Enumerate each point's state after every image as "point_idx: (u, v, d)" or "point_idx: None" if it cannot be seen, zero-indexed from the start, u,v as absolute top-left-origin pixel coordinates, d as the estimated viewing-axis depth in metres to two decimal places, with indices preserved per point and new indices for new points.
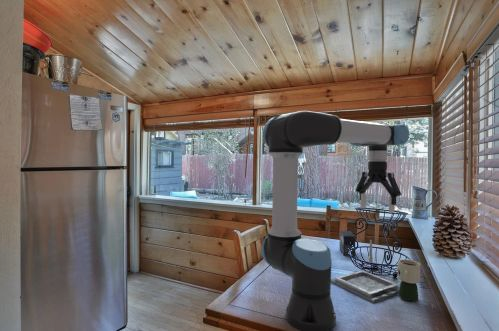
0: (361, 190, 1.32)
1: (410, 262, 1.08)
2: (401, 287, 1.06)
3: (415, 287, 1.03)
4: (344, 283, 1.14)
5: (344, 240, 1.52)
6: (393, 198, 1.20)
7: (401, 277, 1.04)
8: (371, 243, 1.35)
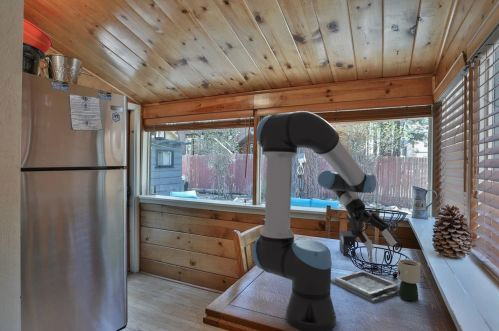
0: (361, 229, 1.15)
1: (410, 262, 1.08)
2: (401, 287, 1.06)
3: (415, 287, 1.03)
4: (344, 283, 1.14)
5: (344, 240, 1.52)
6: None
7: (401, 277, 1.04)
8: None
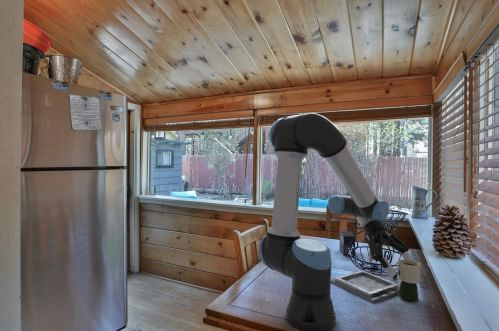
0: (381, 253, 1.09)
1: (410, 262, 1.08)
2: (401, 287, 1.06)
3: (415, 287, 1.03)
4: (344, 283, 1.14)
5: (344, 240, 1.52)
6: (407, 253, 1.16)
7: (401, 277, 1.04)
8: None
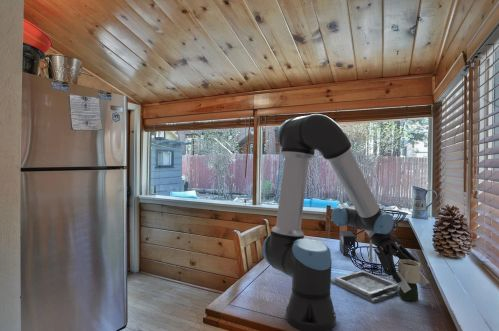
0: (394, 267, 1.04)
1: (410, 262, 1.08)
2: None
3: (415, 287, 1.03)
4: (344, 283, 1.14)
5: (344, 240, 1.52)
6: None
7: None
8: (371, 243, 1.35)
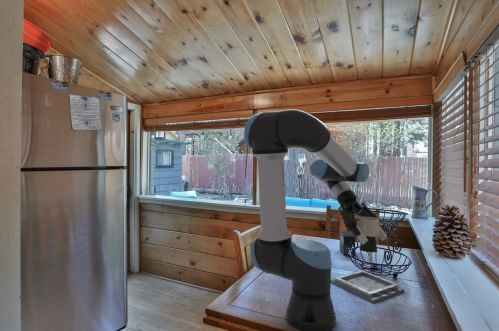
0: (354, 222, 1.13)
1: (371, 219, 1.17)
2: None
3: (373, 240, 1.12)
4: (344, 283, 1.14)
5: (344, 240, 1.52)
6: None
7: None
8: None
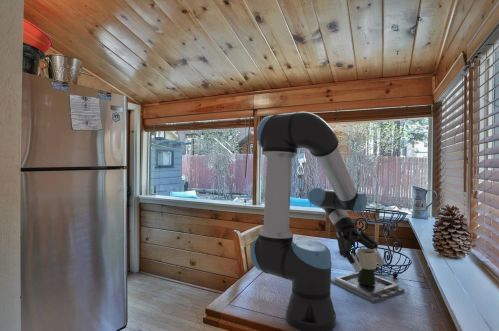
0: (349, 250, 1.14)
1: (369, 251, 1.18)
2: (360, 273, 1.15)
3: (372, 273, 1.13)
4: (344, 283, 1.14)
5: None
6: (376, 249, 1.20)
7: None
8: None
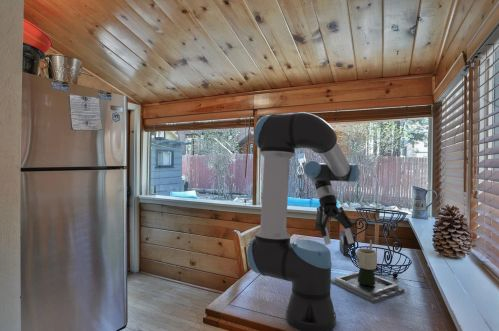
0: (324, 224, 1.25)
1: (368, 250, 1.18)
2: (360, 273, 1.15)
3: (372, 273, 1.13)
4: (344, 283, 1.14)
5: (344, 240, 1.52)
6: (350, 229, 1.32)
7: (359, 264, 1.14)
8: (371, 243, 1.35)
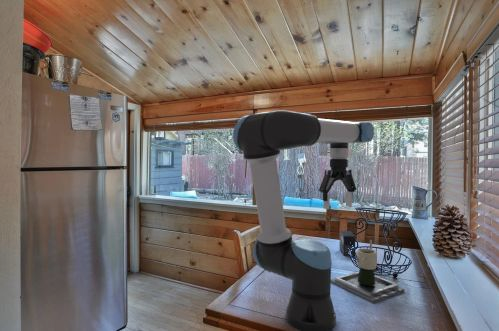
0: (328, 190, 1.23)
1: (368, 251, 1.18)
2: (360, 273, 1.15)
3: (372, 273, 1.13)
4: (344, 283, 1.14)
5: (344, 240, 1.52)
6: (352, 193, 1.31)
7: (359, 264, 1.14)
8: (371, 243, 1.35)
